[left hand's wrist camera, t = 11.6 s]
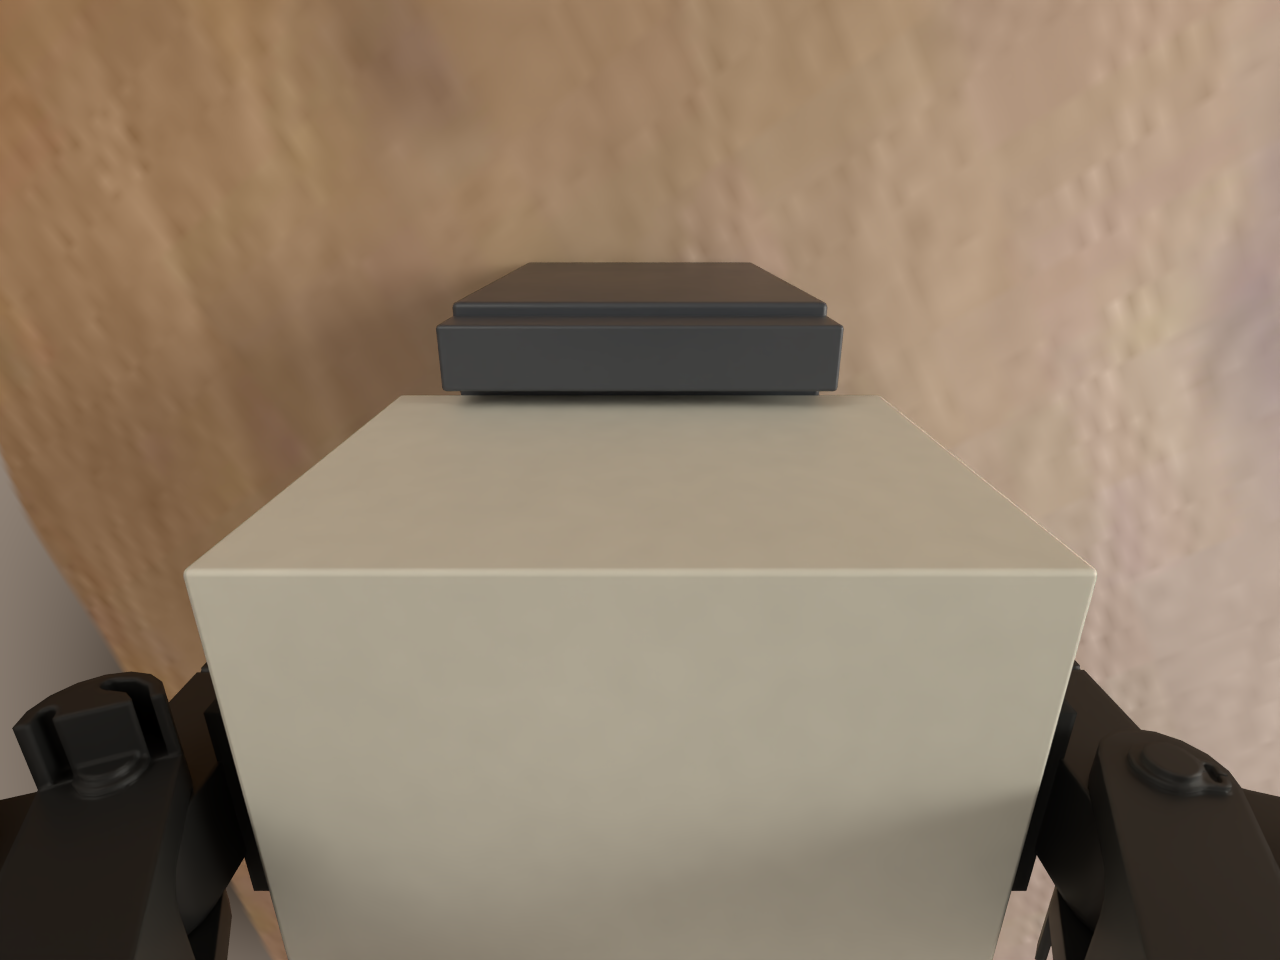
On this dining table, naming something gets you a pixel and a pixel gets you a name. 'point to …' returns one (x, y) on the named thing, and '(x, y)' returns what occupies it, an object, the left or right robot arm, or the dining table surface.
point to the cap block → (640, 682)
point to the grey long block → (639, 333)
